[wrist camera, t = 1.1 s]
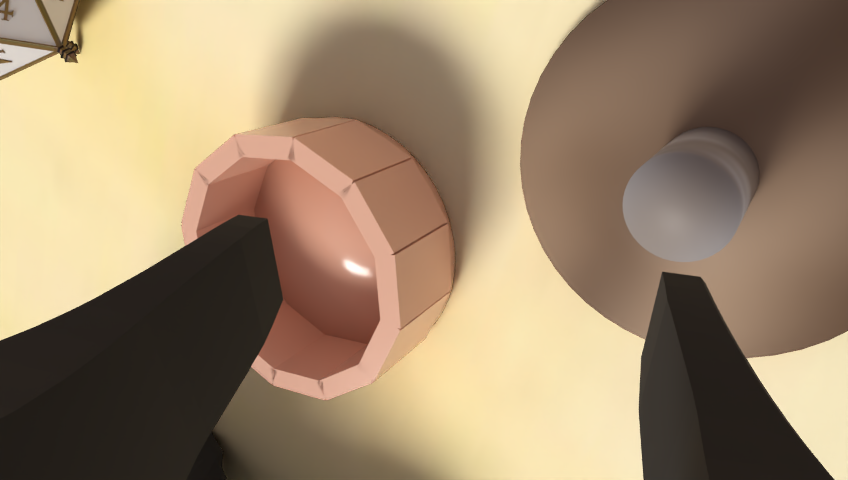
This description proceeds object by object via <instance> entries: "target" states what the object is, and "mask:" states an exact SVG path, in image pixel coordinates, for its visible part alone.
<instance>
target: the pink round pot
mask: <svg viewBox="0 0 848 480" xmlns="http://www.w3.org/2000/svg"><path fill="white" fill-rule="evenodd" d="M195 168H196V169H194V173H193V177H192V181H191V186H190V190H189V194H188V198H187V202H186V206H185V210H184V214H183V218H182V222H181V223H182V225H181V226H182V232H183V237H184V242H185V246H186V245H188V244H189V243H191V242H193V241H194V240H196V239H197V238H199V237H201V236H202V235H204V234H206V233H207V232H209V231H211V230H212V229H214V228H215V227H217V226H219V225H221V224H222V223H224V222H226V221H228V220H229V219H231V218H233V217H235V216H237V215H245V216H252V217H260V218H267V219H268V223H269V228H270V234H271V239H272V244H273V249H274V254H275V259H276V264H277V269H278V275H279V280H280V285H281V290H282V295H283V301H282V304H281V306H280V309H279V311H278V314H277V316H276V319H275V321H274V324H273V326H272V328H271V330H270V332H269V335H268V337H267V339H266V341H265V344H264V345H263V347H262V349H261V351H260V352H259V354H258V356H257V357H256V359H255V361H254V362H253V364H252V366H251V367H252V368H253V369H254V370H255V371H256V372H258V373H259V374H260V375H261V376H262V377H263V378H265V379H266V380H267V381H268V382H269V383H270V384H271V385H272V384H273V386H276V387H280V388H283V389H287V390H290V391H294V392H297V393H301V394H304V395H308V396H311V397H315V398H318V399H322V400H329V399H332V398H334V397H337V396H340V395H342V394H345V393H347V392H350V391H353V390H355V389H358V388H361V387H363V386H366V385H368V384H371V383H373V382H374V381H376V380H377V379H378V378H379V377H380V376H382V375H383V374H384V373H385V372H386V371H388V370H389V369H390V368H391V367H392V366H393V365H395V364H396V363H397V362H398V361H399V360H401V359H402V358H403V357H404V356H405V355H407V354H408V353H409V352H410V351H411V350H413V349H414V348H415V347H416V346H417V345H419V344H420V343H421V342H422V341H423V340H424V339H425V338H426V336H427V335H428V333H429V331H430V329H431V327H432V326H433V325H434V324H435V323H436V321H437V320H438V318H439V317H440V315H441V314H442V312H443V310H444V308H445V306H446V304H447V301H448V299H449V296H450V293H451V290H452V285H453V279H454V272H455V250H454V241H453V234H452V230H451V226H450V222H449V218H448V215H447V213H446V210H445V207H444V204H443V202H442V200H441V198H440V196H439V194H438V191H437V189H436V187H435V186H434V184H433V183H432V181H431V179H430V178H429V176H428V175H427V173H426V172H425V170H424V169H423V168H422V167H421V165H420V164H419V163H418V162H417V160H416V159H415V158H414V157H413V156H412V155H411V154H410V153H409V152H408V151H407V150H406V149H405V148H404V147H403V146H402V145H400V144H399V143H398V142H397V141H395V140H394V139H393V138H392V137H390V136H389V135H387V134H385V133H384V132H382V131H380V130H379V129H377V128H375V127H373V126H370V125H368V124H366V123H363V122H360V121H358V120H356V119H349V118H341V117H324V118H299V119H295V120H291V121H287V122H283V123H279V124H275V125H271V126H267V127H263V128H259V129H255V130H251V131H247V132H243V133H239V134H235V135H233V136H232V137H231V138H229V139H228V140H227V141H226V142H225V143H224V144H222V145H221V146H220V147H219V148H218V149H217V150H215V151H214V152H213V153H212V154H211V155H209V156H208V157H207V158H206V159H205V160H204V161H202V162H201V163H200V164H199V165H198V166H197V167H195Z"/></svg>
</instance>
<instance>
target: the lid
mask: <svg viewBox="0 0 848 480" xmlns="http://www.w3.org/2000/svg"><path fill="white" fill-rule="evenodd" d="M520 168H521V180H522V189H523V194H524V198H525V203H526V208H527V211H528V214H529V217H530V220H531V223H532V226H533V229H534V231H535V233H536V235H537V237H538V239H539V241H540V244H541V246H542V248H543V250H544V251H545V253H546V255H547V256H548V258H549V259H550V261H551V262H552V264H553V266H554V267H555V269H556V270H557V271H558V272H559V274H560V275H561V276H562V277H563V279H564V280H565V281H566V282H567V284H568V285H569V286H570V287H571V288H572V289H573V290H574V291H575V292H576V293H577V294H578V295H579V296H580V297H581V298H582V299H583V300H584V301H585V302H586V303H587V304H589V305H590V306H591V307H593V308H594V309H595V310H596V311H598V312H599V313H600V314H601V315H603V316H604V317H605V318H607V319H609V320H610V321H612V322H613V323H615V324H617V325H618V326H620V327H621V328H623V329H625V330H627V331H629V332H631V333H633V334H635V335H637V336H639V337H641V338H643V339H645V340H646V336H647V332H648V328H649V323H650V319H651V315H652V311H653V307H654V303H655V299H656V295H657V291H658V287H659V282H660V278H661V274H662V272H669V273H677V274H684V275H692V276H699V277H701V278H702V279H703V281H704V282H705V283H706V285H707V287H708V289H709V291H710V293H711V295H712V297H713V300H714V302H715V304H716V305H717V307H718V309H719V311H720V313H721V315H722V317H723V319H724V321H725V323H726V324H727V326H728V328H729V330H730V332H731V333H732V335H733V337H734V339H735V341H736V342H737V344H738V346H739V347H740V349H741V351H742V352H743V354H744V356H745V357H746V358H752V357H762V356H772V355H778V354H783V353H787V352H792V351H797V350H801V349H804V348H807V347H810V346H813V345H816V344H819V343H822V342H825V341H828V340H830V339H832V338H834V337H836V336H838V335H840V334H843V333H845V332H847V331H848V0H607V1H606V2H605V3H603V4H602V5H601V6H599V7H598V8H597V9H596V10H594V11H593V12H592V13H590V14H589V15H588V16H587V17H586V18H585V19H584V20H583V21H582V22H581V23H580V24H579V25H578V26H577V27H576V28H575V29H574V30H573V31H572V32H571V33H570V34H569V35H568V36H567V38H566V39H565V40H564V41H563V43H562V44H561V45H560V47H559V48H558V49H557V50H556V52H555V53H554V54H553V56H552V58H551V59H550V61H549V63H548V64H547V66H546V68H545V69H544V71H543V73H542V74H541V76H540V79H539V81H538V83H537V86H536V88H535V90H534V92H533V95H532V97H531V100H530V104H529V107H528V110H527V114H526V117H525V121H524V127H523V134H522V140H521V157H520Z"/></svg>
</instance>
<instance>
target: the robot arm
mask: <svg viewBox="0 0 848 480" xmlns="http://www.w3.org/2000/svg"><path fill="white" fill-rule="evenodd" d="M282 301H283V295H282V290H281V285H280V280H279V275H278V269H277V264H276V259H275V254H274V249H273V244H272V239H271V234H270V228H269V223H268V219H267V218H260V217H252V216H245V215H237V216H235V217H233V218H231V219H229V220H228V221H226V222H224V223H222V224H221V225H219V226H217V227H215V228H214V229H212V230H211V231H209V232H207V233H206V234H204V235H202V236H201V237H199V238H197V239H196V240H194V241H193V242H191V243H189V244H188V245H186V246H184V247H183V248H181V249H180V250H178V251H176V252H175V253H173V254H171V255H170V256H168V257H166V258H165V259H163V260H161V261H160V262H158V263H157V264H155V265H153V266H152V267H150V268H148V269H147V270H145V271H143V272H141V273H140V274H138V275H136V276H134V277H132V278H131V279H129V280H127V281H125V282H123V283H122V284H120V285H118V286H116V287H114V288H113V289H111V290H109V291H107V292H105V293H104V294H102V295H100V296H98V297H96V298H95V299H93V300H91V301H89V302H87V303H85V304H83V305H81V306H79V307H77V308H75V309H73V310H71V311H69V312H66V313H64V314H62V315H60V316H58V317H56V318H53V319H51V320H49V321H47V322H45V323H42V324H40V325H38V326H36V327H33V328H31V329H29V330H26V331H24V332H21V333H19V334H16V335H14V336H11V337H8V338H6V339H3V340H1V341H0V480H186V479H187V477H188V475H189V473H190V471H191V469H192V467H193V465H194V463H195V460H196V458H197V456H198V455H199V453H200V451H201V449H202V447H203V446H204V444H205V442H206V440H207V438H208V437H209V435H210V433H211V432H212V430H213V428H214V427H215V425H216V423H217V422H218V420H219V419H220V417H221V415H222V414H223V412H224V410H225V409H226V407H227V405H228V404H229V402H230V400H231V399H232V397H233V396H234V394H235V392H236V391H237V389H238V387H239V386H240V384H241V382H242V381H243V379H244V378H245V376H246V374H247V373H248V371H249V369H250V367H251V366H252V364H253V362H254V361H255V359H256V357H257V356H258V354H259V352H260V351H261V349H262V347H263V345H264V344H265V341H266V339H267V337H268V335H269V332H270V330H271V328H272V326H273V324H274V321H275V319H276V316H277V314H278V311H279V309H280V306H281V304H282ZM639 421H640V435H641V449H642V463H643V477H644V480H834V479H833V477H832V476H831V475H830V474H829V473H828V472H827V470H826V469H825V468H824V467H823V465H822V464H821V463H820V462H819V461H818V459H817V458H816V457H815V456H814V455H813V453H812V452H811V451H810V450H809V448H808V447H807V446H806V444H805V443H804V442H803V441H802V439H801V438H800V437H799V435H798V434H797V433H796V431H795V430H794V429H793V427H792V426H791V425H790V423H789V422H788V421H787V419H786V418H785V416H784V415H783V414H782V412H781V411H780V409H779V408H778V406H777V405H776V404H775V402H774V401H773V399H772V398H771V396H770V395H769V393H768V392H767V390H766V389H765V387H764V386H763V384H762V383H761V381H760V380H759V378H758V377H757V375H756V373H755V372H754V370H753V369H752V367H751V365H750V364H749V362H748V360H747V359H746V357H745V356H744V354H743V352H742V351H741V349H740V347H739V346H738V344H737V342H736V341H735V339H734V337H733V335H732V333H731V332H730V330H729V328H728V326H727V324H726V323H725V321H724V319H723V317H722V315H721V313H720V311H719V309H718V307H717V305H716V304H715V302H714V300H713V297H712V295H711V293H710V291H709V289H708V287H707V285H706V283H705V282H704V281H703V279H702V278H701V277H699V276H692V275H684V274H677V273H669V272H662V274H661V278H660V282H659V287H658V291H657V295H656V299H655V303H654V307H653V311H652V315H651V319H650V323H649V328H648V332H647V336H646V340H645V344H644V348H643V352H642V356H641V373H640V393H639Z"/></svg>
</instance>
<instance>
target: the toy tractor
mask: <svg viewBox="0 0 848 480" xmlns="http://www.w3.org/2000/svg"><path fill="white" fill-rule="evenodd" d="M222 453H223V450H222V449H221V447H220V446H219V445H218V443H217V441H216V439H215V438H214V436H213V434H212V432H211V433H210V435H209V437H208V438H207V440H206V442H205V444H204V446H203V447H202V449H201V451H200V453H199V455H198V456H197V458H196V460H195V463H194V465H193V467H192V469H191V471H190V473H189V475H188V477H187V479H186V480H225V479H227V478H226V476H225V474H224V472H223V470H222Z"/></svg>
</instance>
